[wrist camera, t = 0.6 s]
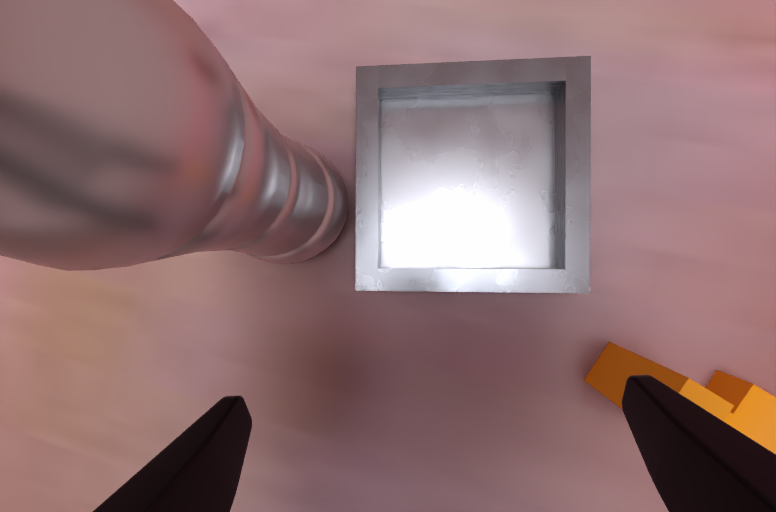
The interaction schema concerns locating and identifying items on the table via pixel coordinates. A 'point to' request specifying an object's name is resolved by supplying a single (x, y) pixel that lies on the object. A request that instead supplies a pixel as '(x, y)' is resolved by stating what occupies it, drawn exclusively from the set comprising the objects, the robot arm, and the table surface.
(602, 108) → the table surface
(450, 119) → the tray
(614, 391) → the orange stepped block
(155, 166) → the plastic bottle
